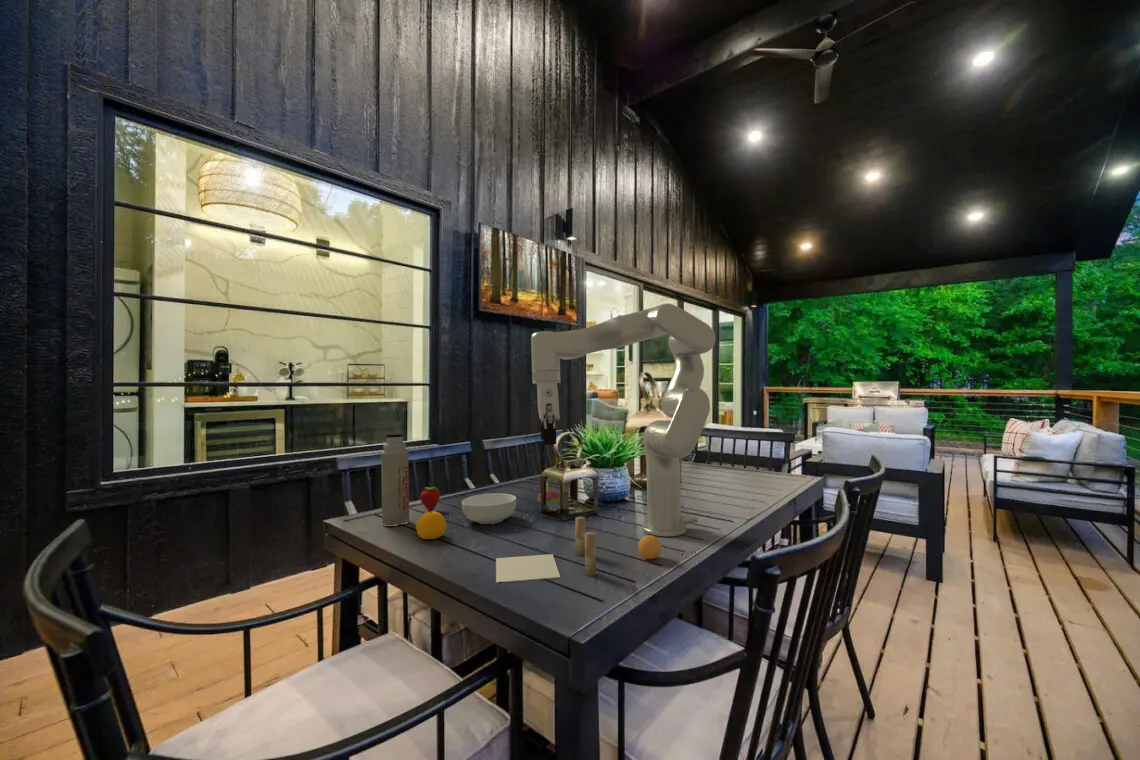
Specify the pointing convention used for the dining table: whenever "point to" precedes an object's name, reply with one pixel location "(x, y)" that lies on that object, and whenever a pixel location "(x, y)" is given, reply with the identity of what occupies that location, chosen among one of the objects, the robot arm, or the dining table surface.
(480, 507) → the cereal bowl
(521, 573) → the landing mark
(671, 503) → the robot arm
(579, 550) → the post
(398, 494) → the thermos bottle
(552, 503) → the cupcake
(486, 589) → the dining table surface
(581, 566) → the dining table surface
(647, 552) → the ball
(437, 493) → the strawberry
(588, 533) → the post
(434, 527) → the orange round fruit
